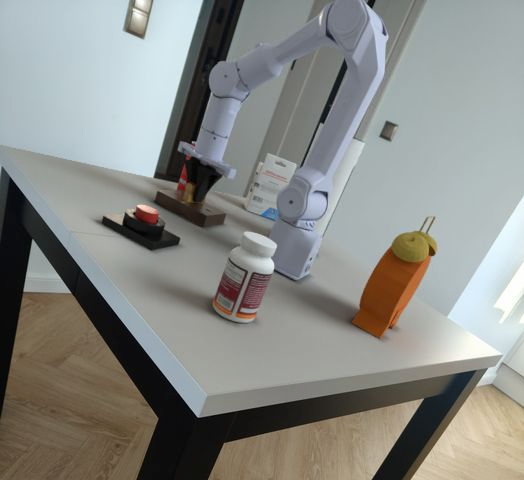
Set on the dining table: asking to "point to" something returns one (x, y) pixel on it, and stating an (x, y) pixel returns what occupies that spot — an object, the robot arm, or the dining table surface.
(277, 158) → the ink box
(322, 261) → the dining table surface
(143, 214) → the bell button
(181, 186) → the beverage can
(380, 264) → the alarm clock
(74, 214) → the dining table surface
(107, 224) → the box
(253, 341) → the dining table surface
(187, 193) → the lock knob
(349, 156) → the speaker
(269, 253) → the pill bottle
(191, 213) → the plate
